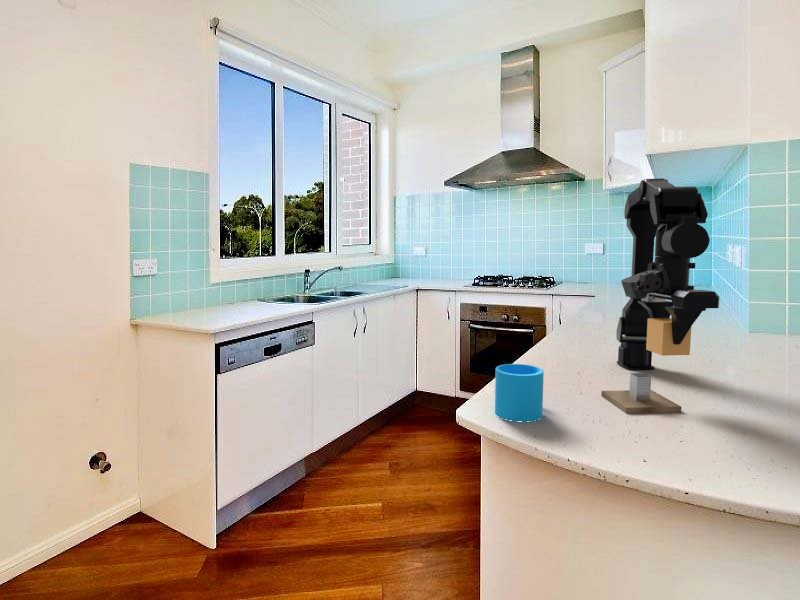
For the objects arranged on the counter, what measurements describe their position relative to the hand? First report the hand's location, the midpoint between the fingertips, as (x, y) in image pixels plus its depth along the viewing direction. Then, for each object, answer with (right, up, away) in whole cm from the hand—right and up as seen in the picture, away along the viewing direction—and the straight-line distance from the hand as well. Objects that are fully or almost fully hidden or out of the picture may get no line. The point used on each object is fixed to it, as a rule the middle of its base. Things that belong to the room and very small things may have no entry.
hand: (667, 341), depth 93 cm
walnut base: (-5, -12, +1) cm, 13 cm away
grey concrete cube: (-5, -12, +1) cm, 13 cm away
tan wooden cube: (0, -2, 0) cm, 2 cm away
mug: (-28, -13, -3) cm, 31 cm away
